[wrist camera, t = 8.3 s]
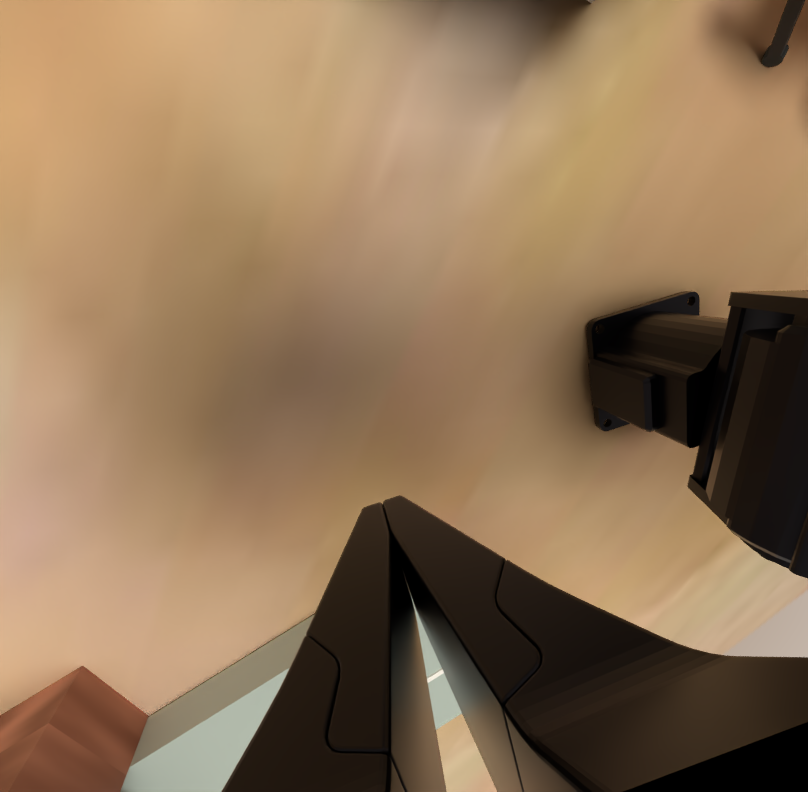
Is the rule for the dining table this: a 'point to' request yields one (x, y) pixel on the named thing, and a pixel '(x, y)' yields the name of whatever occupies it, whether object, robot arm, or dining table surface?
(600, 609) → the robot arm
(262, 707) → the board
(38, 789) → the gold-topped wooden l-block
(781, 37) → the robot dog
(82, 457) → the dining table surface
